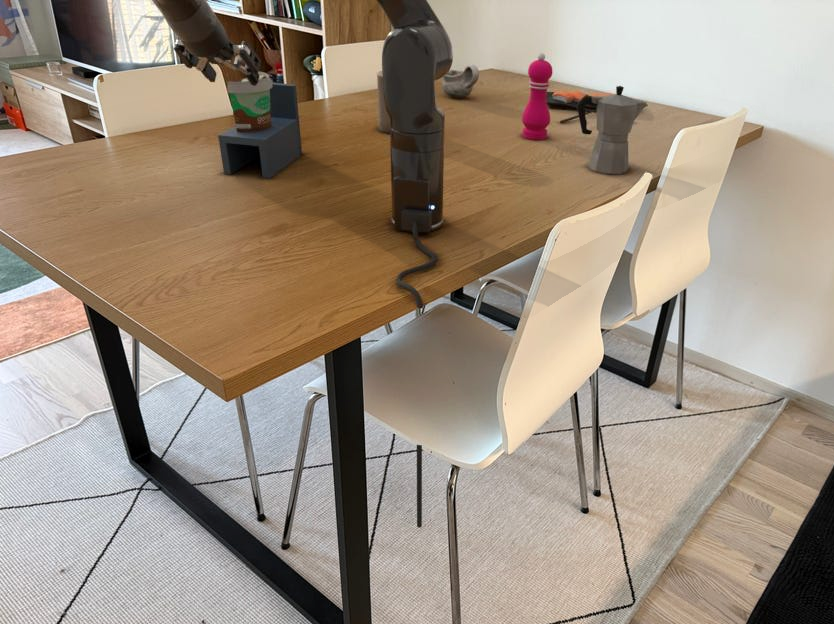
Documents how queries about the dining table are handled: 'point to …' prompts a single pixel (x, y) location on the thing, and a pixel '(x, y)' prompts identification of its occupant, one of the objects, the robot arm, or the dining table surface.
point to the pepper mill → (537, 100)
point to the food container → (251, 103)
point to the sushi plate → (569, 101)
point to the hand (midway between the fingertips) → (234, 79)
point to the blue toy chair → (266, 136)
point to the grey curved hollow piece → (460, 81)
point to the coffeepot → (610, 130)
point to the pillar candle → (382, 106)
